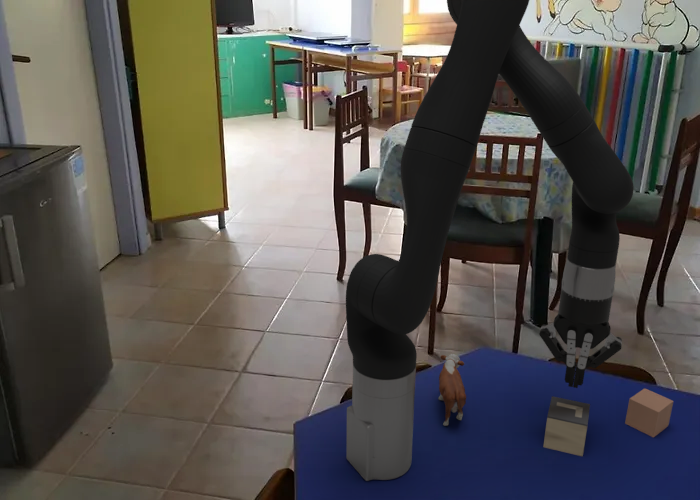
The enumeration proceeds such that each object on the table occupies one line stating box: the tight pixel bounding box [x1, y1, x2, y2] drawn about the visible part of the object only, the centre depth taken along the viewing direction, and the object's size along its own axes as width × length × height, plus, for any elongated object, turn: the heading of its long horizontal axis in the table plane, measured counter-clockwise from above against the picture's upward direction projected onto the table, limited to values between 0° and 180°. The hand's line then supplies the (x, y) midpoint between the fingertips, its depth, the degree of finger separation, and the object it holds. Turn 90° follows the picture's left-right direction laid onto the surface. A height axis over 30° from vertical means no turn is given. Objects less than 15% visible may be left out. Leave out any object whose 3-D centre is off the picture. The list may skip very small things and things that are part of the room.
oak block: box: [542, 395, 591, 457], centre depth 108 cm, size 6×6×6 cm
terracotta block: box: [624, 387, 674, 438], centre depth 113 cm, size 5×5×5 cm
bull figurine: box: [438, 353, 467, 427], centre depth 116 cm, size 4×13×8 cm, turn 174°
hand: (573, 384), depth 110 cm, fingers closed
